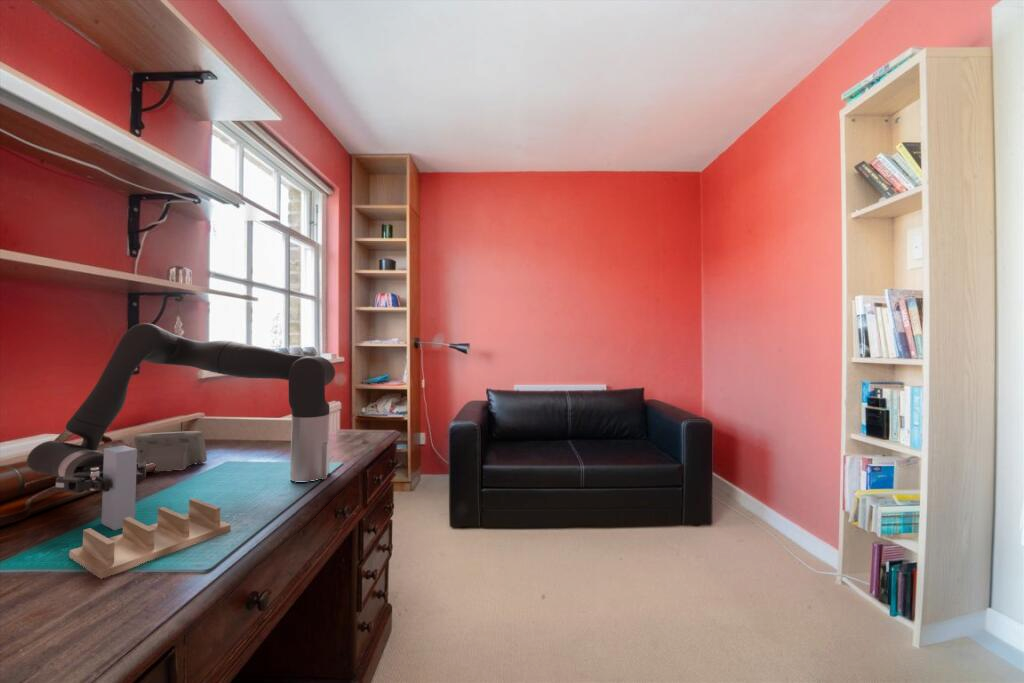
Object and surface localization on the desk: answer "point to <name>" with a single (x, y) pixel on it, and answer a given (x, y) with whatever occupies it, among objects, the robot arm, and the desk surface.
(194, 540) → the rack
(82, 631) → the desk surface
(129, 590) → the desk surface
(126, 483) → the grey tall block
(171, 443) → the grey basket
